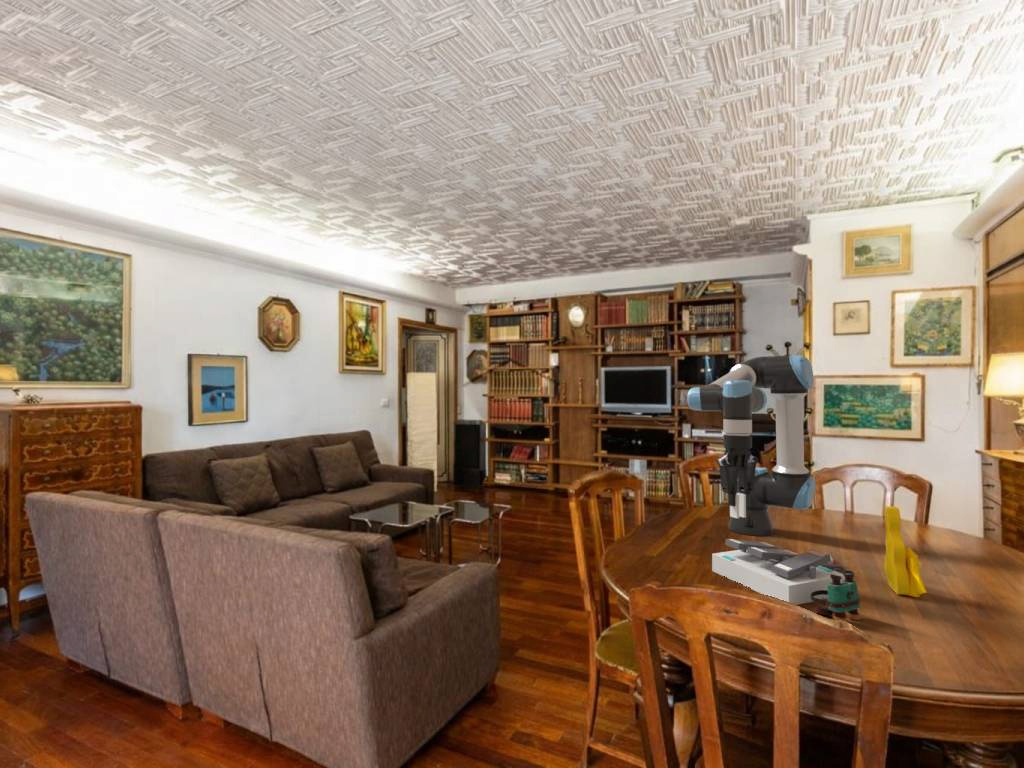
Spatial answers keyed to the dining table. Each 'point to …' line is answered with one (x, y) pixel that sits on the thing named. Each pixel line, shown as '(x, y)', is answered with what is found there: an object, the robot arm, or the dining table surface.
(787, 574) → the switch
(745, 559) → the console
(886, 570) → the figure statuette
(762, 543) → the switch
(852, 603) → the binoculars
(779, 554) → the switch
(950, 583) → the dining table surface
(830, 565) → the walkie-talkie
